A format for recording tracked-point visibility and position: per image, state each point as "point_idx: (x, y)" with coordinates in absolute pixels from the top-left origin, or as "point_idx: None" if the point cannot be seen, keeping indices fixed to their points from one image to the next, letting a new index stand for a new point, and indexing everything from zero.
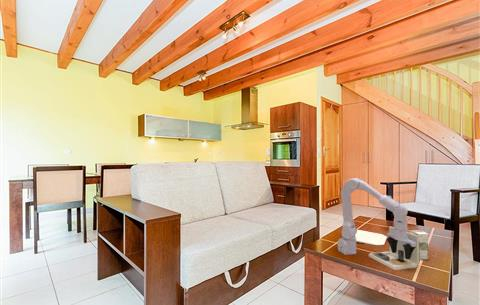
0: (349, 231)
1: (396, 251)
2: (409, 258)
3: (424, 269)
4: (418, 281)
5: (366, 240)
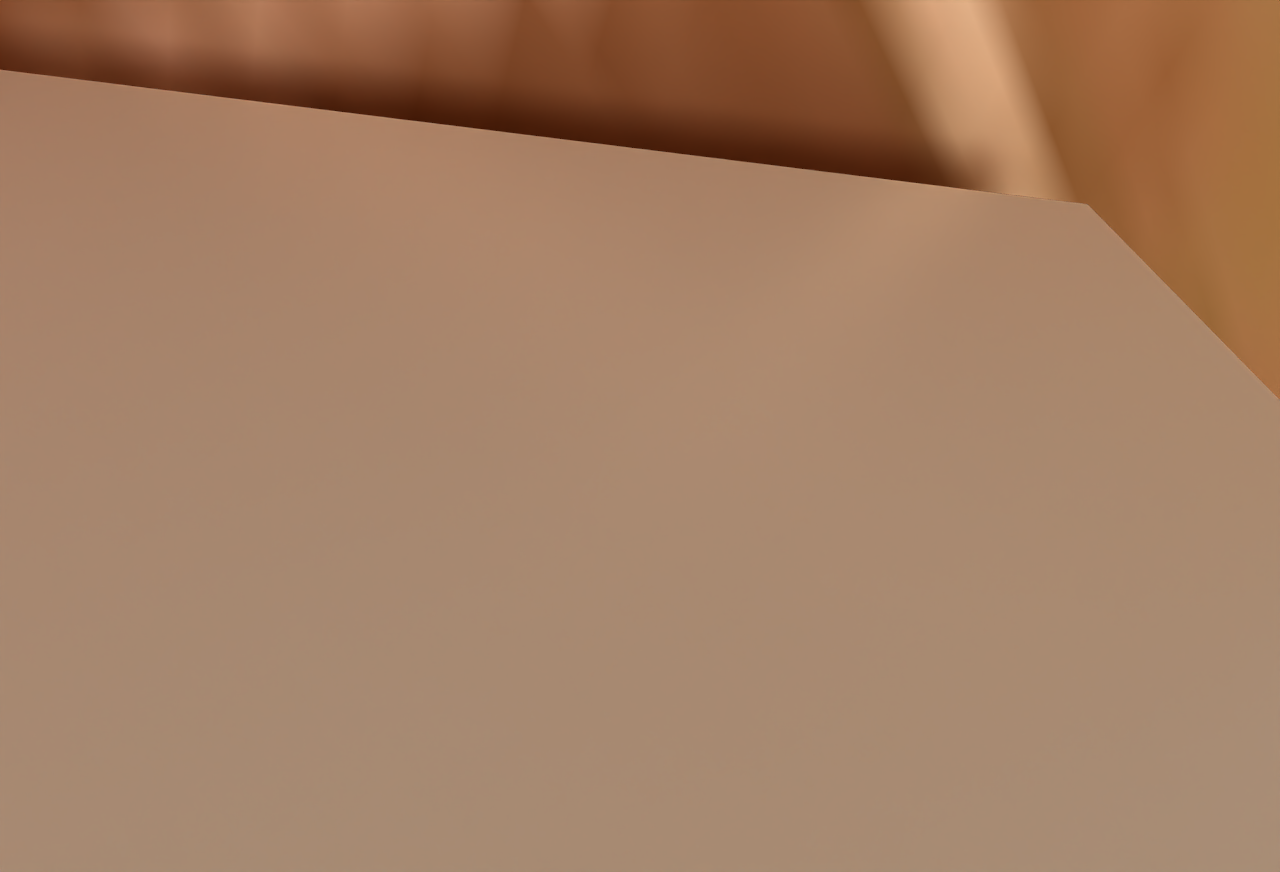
0: None
1: None
2: None
3: (1160, 3)
4: None
5: None
